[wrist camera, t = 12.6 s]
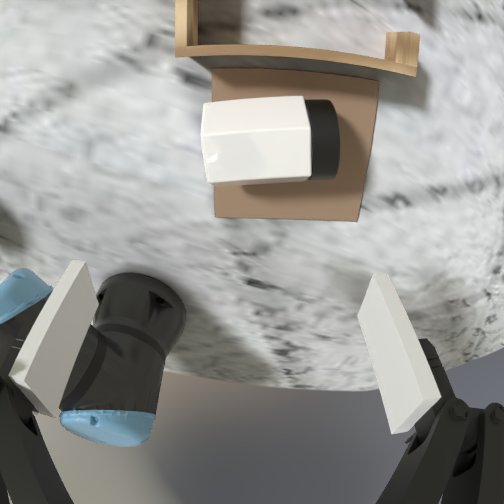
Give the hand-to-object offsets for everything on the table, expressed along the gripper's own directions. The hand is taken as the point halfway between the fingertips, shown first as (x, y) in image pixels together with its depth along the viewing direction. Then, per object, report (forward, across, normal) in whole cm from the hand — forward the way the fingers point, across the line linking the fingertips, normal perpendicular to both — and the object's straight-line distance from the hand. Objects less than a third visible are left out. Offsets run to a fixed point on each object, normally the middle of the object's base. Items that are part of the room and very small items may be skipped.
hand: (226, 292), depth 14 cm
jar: (+20, +3, 0) cm, 20 cm away
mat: (+24, -6, 0) cm, 25 cm away
